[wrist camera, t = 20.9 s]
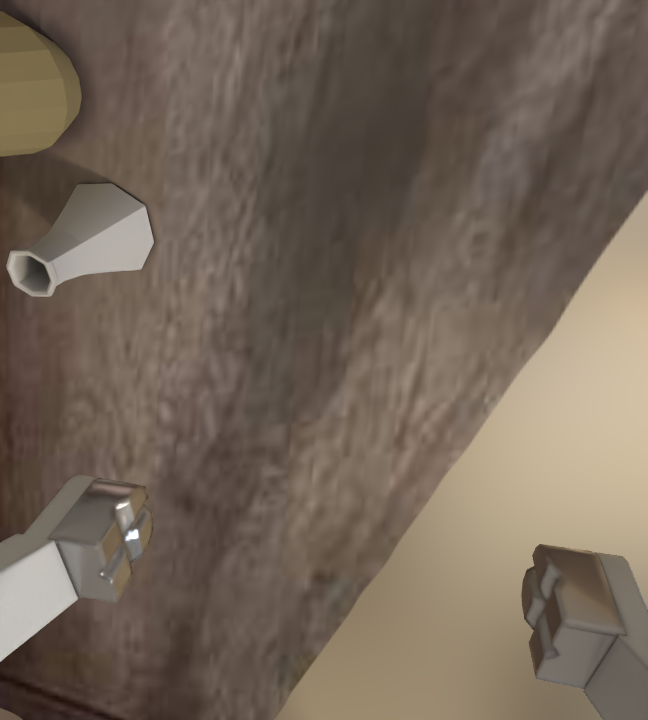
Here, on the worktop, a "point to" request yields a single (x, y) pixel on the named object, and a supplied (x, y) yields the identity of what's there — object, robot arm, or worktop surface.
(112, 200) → the flask
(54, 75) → the squeeze bottle
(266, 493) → the worktop surface
